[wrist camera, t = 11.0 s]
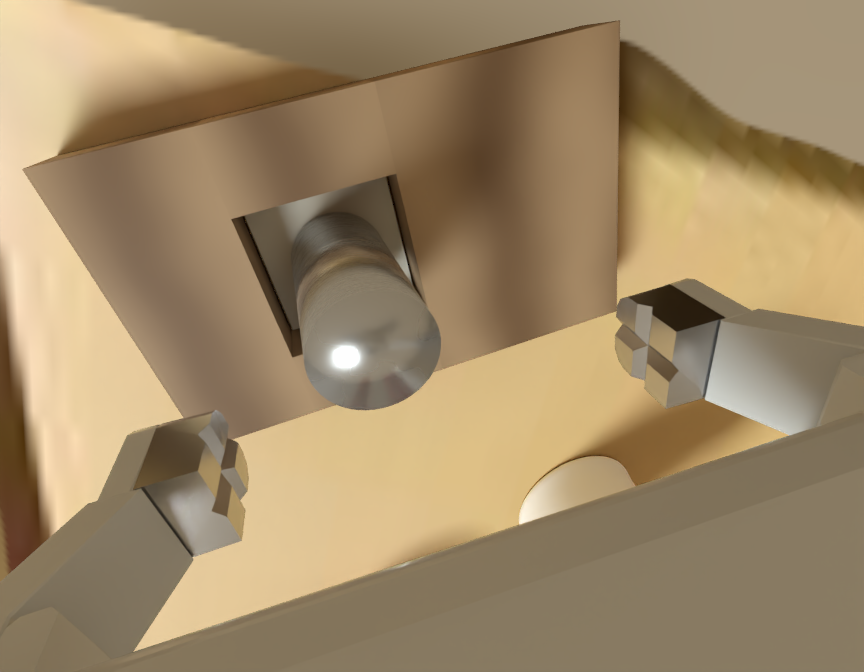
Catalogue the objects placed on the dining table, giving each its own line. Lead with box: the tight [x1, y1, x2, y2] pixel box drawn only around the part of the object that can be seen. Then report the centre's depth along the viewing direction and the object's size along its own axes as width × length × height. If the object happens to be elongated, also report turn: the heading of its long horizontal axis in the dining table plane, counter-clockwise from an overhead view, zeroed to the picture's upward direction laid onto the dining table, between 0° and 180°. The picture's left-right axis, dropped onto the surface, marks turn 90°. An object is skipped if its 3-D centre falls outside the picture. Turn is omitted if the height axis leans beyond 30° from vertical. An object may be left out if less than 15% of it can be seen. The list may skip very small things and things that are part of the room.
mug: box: [519, 456, 636, 524], centre depth 29 cm, size 12×8×12 cm
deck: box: [22, 21, 620, 440], centre depth 20 cm, size 20×12×2 cm, turn 101°
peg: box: [291, 212, 441, 410], centre depth 17 cm, size 4×4×8 cm
